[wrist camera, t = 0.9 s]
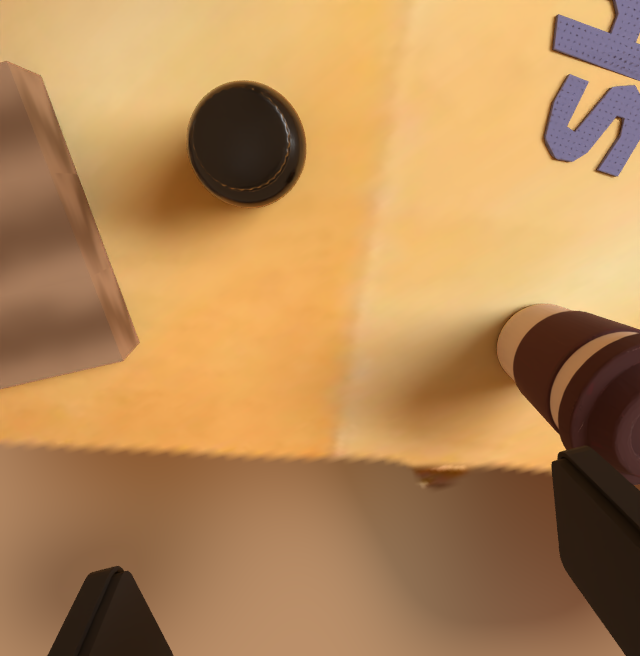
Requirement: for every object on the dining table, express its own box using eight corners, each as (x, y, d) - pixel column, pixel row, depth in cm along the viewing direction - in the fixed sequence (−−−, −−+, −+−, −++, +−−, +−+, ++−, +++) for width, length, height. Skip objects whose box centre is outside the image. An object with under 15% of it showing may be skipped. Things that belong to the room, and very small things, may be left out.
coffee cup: (482, 401, 41) (585, 516, 27) (477, 297, 38) (590, 366, 24) (587, 382, 42) (744, 487, 27) (591, 277, 38) (770, 334, 24)
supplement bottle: (312, 188, 35) (326, 192, 23) (227, 214, 35) (199, 230, 23) (286, 92, 32) (286, 44, 21) (195, 120, 33) (146, 87, 21)
